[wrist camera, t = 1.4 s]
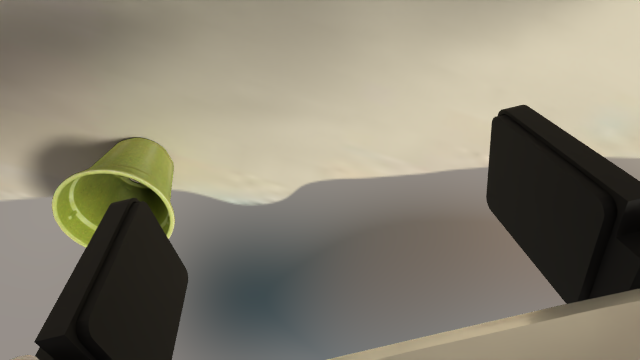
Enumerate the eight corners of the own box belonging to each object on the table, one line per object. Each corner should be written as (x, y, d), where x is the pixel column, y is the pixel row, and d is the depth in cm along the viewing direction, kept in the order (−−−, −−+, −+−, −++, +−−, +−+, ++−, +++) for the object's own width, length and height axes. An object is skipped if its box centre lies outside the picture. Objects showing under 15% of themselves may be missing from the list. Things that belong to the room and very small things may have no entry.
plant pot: (176, 210, 42) (158, 267, 35) (84, 183, 39) (44, 241, 32) (202, 143, 38) (188, 193, 31) (102, 107, 35) (60, 153, 28)
